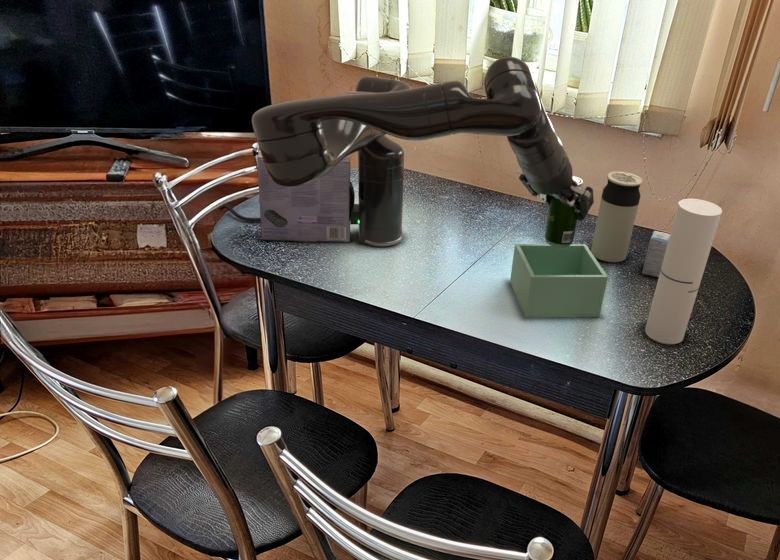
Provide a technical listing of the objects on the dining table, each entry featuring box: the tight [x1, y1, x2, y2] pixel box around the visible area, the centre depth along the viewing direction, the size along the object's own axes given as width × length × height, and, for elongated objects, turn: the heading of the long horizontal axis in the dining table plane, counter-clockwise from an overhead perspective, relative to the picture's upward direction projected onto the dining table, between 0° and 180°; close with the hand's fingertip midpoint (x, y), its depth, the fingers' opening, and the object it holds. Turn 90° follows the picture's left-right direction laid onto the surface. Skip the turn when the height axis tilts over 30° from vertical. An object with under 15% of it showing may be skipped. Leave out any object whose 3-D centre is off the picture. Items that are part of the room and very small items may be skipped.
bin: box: [509, 243, 609, 319], centre depth 131 cm, size 15×14×9 cm
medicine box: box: [641, 230, 670, 278], centre depth 145 cm, size 8×4×9 cm, turn 71°
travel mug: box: [590, 171, 644, 263], centre depth 147 cm, size 8×8×18 cm
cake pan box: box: [256, 150, 356, 243], centre depth 141 cm, size 19×5×18 cm, turn 100°
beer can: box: [544, 175, 584, 248], centre depth 123 cm, size 5×5×12 cm
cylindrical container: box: [644, 198, 723, 345], centre depth 120 cm, size 7×7×25 cm
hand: (568, 211), depth 125 cm, fingers closed on beer can, 5 cm apart
